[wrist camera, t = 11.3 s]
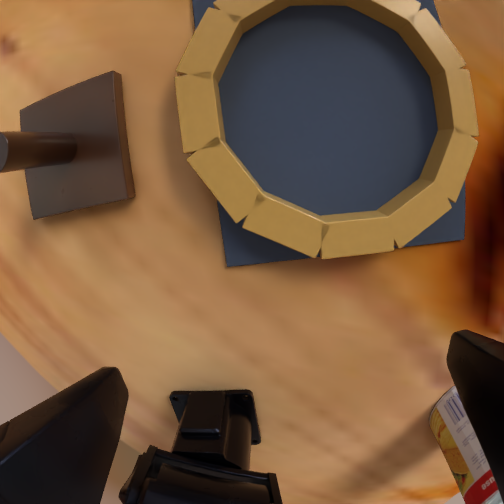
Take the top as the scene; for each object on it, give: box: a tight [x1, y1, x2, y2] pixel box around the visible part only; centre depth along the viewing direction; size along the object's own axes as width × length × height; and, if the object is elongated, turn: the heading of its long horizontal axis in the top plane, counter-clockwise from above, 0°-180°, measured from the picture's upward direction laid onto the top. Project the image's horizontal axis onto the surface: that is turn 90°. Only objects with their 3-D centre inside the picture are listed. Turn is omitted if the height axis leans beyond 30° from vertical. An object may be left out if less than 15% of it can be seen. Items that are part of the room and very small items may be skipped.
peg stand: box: [0, 71, 135, 220], centre depth 14 cm, size 8×8×8 cm
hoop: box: [174, 0, 479, 259], centre depth 15 cm, size 17×17×2 cm
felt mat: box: [192, 0, 465, 267], centre depth 16 cm, size 18×16×1 cm
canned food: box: [429, 386, 503, 504], centre depth 17 cm, size 8×8×12 cm
